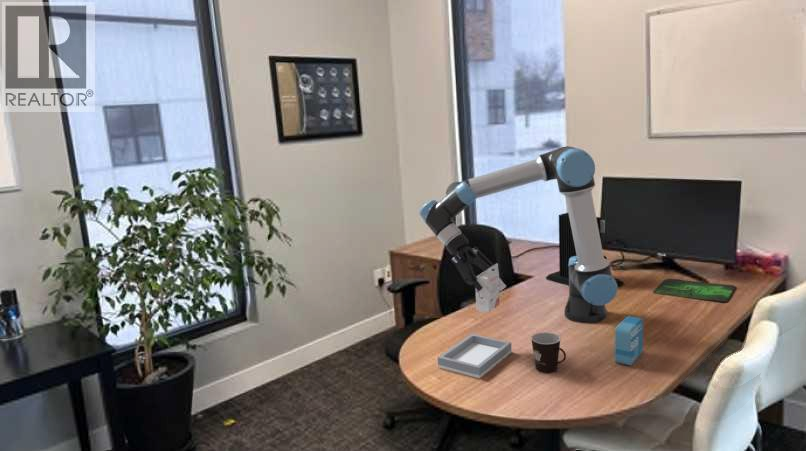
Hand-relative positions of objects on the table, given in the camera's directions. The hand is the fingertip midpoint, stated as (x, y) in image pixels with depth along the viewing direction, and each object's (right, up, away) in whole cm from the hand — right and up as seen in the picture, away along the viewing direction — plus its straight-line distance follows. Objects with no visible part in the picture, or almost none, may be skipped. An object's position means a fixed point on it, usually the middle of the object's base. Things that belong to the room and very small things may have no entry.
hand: (496, 292), depth 187 cm
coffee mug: (+14, -22, -13) cm, 29 cm away
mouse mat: (+88, -5, +46) cm, 100 cm away
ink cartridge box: (-2, -6, +3) cm, 7 cm away
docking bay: (-7, -21, -2) cm, 23 cm away
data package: (+40, -20, -8) cm, 45 cm away
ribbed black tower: (+50, -3, +67) cm, 84 cm away
